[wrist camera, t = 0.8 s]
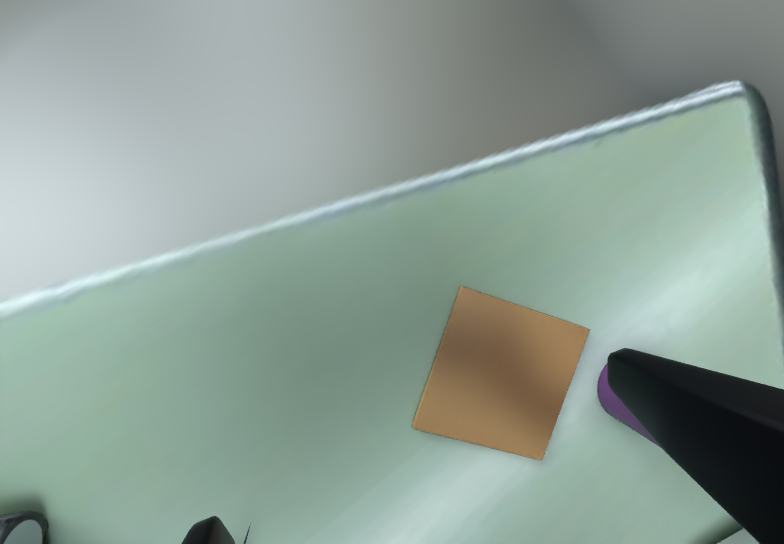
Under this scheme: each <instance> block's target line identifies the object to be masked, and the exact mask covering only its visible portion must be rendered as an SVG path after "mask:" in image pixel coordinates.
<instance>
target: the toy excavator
mask: <svg viewBox="0 0 784 544" xmlns="http://www.w3.org/2000/svg"><path fill="white" fill-rule="evenodd" d="M47 528H48V526H47V523H46V520H45V519H44V518H43V515H42V514H41V513H39V512H37V511H26V512H19V513H12V514H5V515H0V544H43V538H44V535H45V532H46V530H47Z"/></svg>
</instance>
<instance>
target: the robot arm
mask: <svg viewBox="0 0 784 544" xmlns="http://www.w3.org/2000/svg"><path fill="white" fill-rule="evenodd" d="M607 382H608V385H609V387H610V389H611V390H612V392H613V393H614V394H615V395H616V396H617V397H618V399H619V400H620V401H621V402H622V403H623V404H624V405H625V407H626V408H627V409H628V410H629V411H630V412H631V414H632V415H633V416H634V417H635V418H636V419H637V421H638V422H639V423H640V424H641V425H642V426H643V427H644V429H645V430H646V431H647V432H648V433H649V434H650V436H651V437H652V438H653V439H654V440H655V441H656V442H657V443H658V444H659V446H660V447H661V448H662V449H663V450H664V451H665V452H666V453H667V454H668V455H669V456H670V457H671V458H672V459H673V460H674V461H675V462H676V463H677V464H678V465H679V466H680V467H681V468H682V469H684V470H685V471H686V472H687V473H688V474H689V475H690V476H691V477H692V478H693V479H694V480H695V481H696V482H697V483H698V484H699V485H700V486H701V487H702V488H703V489H704V490H705V491H706V492H707V493H708V494H709V495H710V496H711V497H712V498H713V499H714V500H715V501H716V502H717V503H718V504H719V505H720V506H721V507H723V508H724V509H725V510H726V511H727V512H728V513H729V514H730V515H731V516H732V517H733V518H734V519H735V520H736V521H737V522H738V523H739V524H740V525H741V526H742V527H743V528H744V529H745V530H746V531H747V532H748V533H749V534H750V535H751V536H752V537H753V538H754V539H755V540H756V541H757V542H758V543H759V544H784V390H783V389H779V388H775V387H772V386H768V385H764V384H760V383H757V382H753V381H749V380H745V379H742V378H738V377H734V376H730V375H726V374H723V373H719V372H715V371H711V370H708V369H704V368H700V367H696V366H693V365H689V364H685V363H681V362H678V361H674V360H670V359H666V358H662V357H659V356H655V355H651V354H647V353H644V352H640V351H636V350H632V349H628V348H624V349H620V350H618V351H616V352H613V353H611V354H610V355H609V356H608V367H607ZM182 544H235V542H234V540H233V538H232V536H231V535H230V533H229V532H228V530H227V529H226V527H225V526H224V524H223V523H222V522H221V520H220V519H219V518H218V517H216V516H212V517H210V518H207V519H205V520H202V521H200V522H198V523H196V524H194V525H193V526H192V528H191V529H190V530H189V532H188V534H187V535H186V537H185V539H184V540H183V542H182Z"/></svg>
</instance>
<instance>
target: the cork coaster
mask: <svg viewBox="0 0 784 544" xmlns="http://www.w3.org/2000/svg"><path fill="white" fill-rule="evenodd" d="M589 331H590V329H587V328H585V327H582V326H579V325H576V324H573V323H570V322H567V321H564V320H561V319H558V318H555V317H552V316H549V315H546V314H543V313H540V312H537V311H534V310H531V309H528V308H525V307H522V306H519V305H516V304H513V303H510V302H507V301H504V300H501V299H498V298H495V297H492V296H489V295H486V294H483V293H481V292H478V291H475V290H472V289H469V288H466V287H463V286H460V289H459V292H458V295H457V298H456V301H455V303H454V306H453V309H452V312H451V315H450V318H449V321H448V323H447V326H446V329H445V332H444V335H443V338H442V341H441V343H440V346H439V349H438V352H437V355H436V358H435V361H434V364H433V366H432V369H431V372H430V375H429V378H428V381H427V384H426V386H425V389H424V392H423V395H422V398H421V401H420V404H419V407H418V409H417V412H416V415H415V418H414V421H413V424H412V427H413V429H417V430H421V431H425V432H429V433H433V434H437V435H441V436H445V437H449V438H453V439H457V440H461V441H465V442H469V443H473V444H477V445H481V446H485V447H489V448H493V449H497V450H501V451H505V452H509V453H513V454H517V455H521V456H525V457H529V458H533V459H537V460H541V461H542V459H543V456H544V453H545V451H546V448H547V445H548V442H549V440H550V437H551V434H552V431H553V429H554V426H555V423H556V421H557V418H558V415H559V412H560V410H561V407H562V404H563V401H564V399H565V396H566V393H567V391H568V388H569V385H570V382H571V380H572V377H573V374H574V371H575V369H576V366H577V363H578V361H579V358H580V355H581V352H582V350H583V347H584V344H585V341H586V339H587V336H588V333H589Z"/></svg>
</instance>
